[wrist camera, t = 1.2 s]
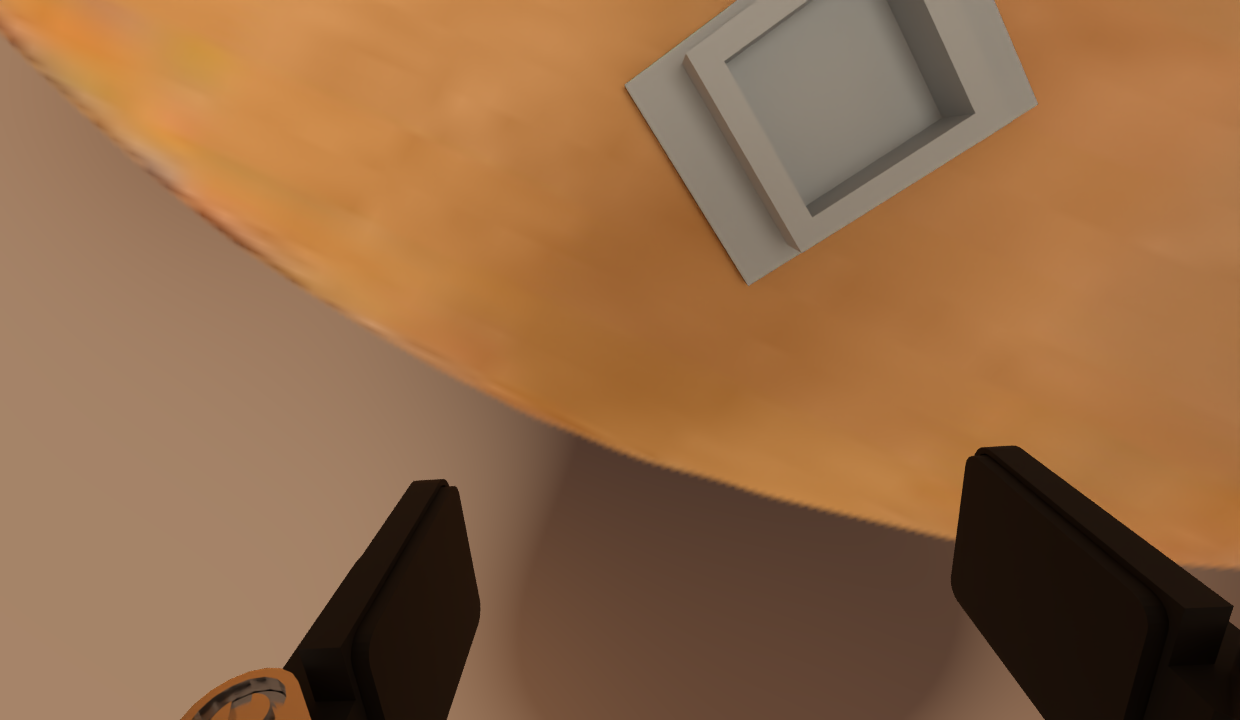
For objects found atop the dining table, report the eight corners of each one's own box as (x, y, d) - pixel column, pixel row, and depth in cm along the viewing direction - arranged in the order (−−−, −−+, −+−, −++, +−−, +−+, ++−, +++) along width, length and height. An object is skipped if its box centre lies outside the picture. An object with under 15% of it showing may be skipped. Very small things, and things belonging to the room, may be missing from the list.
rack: (923, -138, 26) (968, -185, 22) (1027, 105, 29) (1082, 98, 25) (624, 86, 29) (622, 76, 26) (746, 282, 32) (758, 298, 29)
